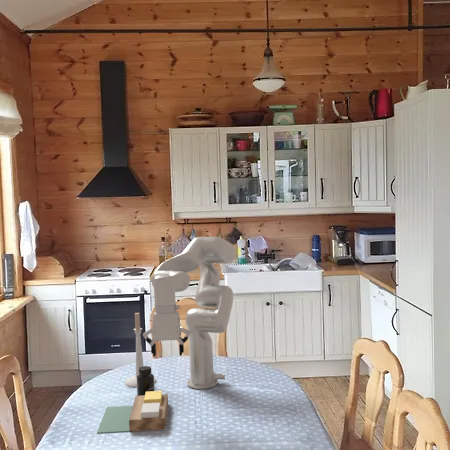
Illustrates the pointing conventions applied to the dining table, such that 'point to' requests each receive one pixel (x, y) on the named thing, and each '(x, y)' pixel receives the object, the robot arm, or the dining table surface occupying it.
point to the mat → (115, 419)
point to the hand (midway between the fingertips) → (167, 355)
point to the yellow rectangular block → (153, 397)
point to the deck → (148, 423)
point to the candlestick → (137, 353)
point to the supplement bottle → (145, 381)
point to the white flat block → (150, 410)
